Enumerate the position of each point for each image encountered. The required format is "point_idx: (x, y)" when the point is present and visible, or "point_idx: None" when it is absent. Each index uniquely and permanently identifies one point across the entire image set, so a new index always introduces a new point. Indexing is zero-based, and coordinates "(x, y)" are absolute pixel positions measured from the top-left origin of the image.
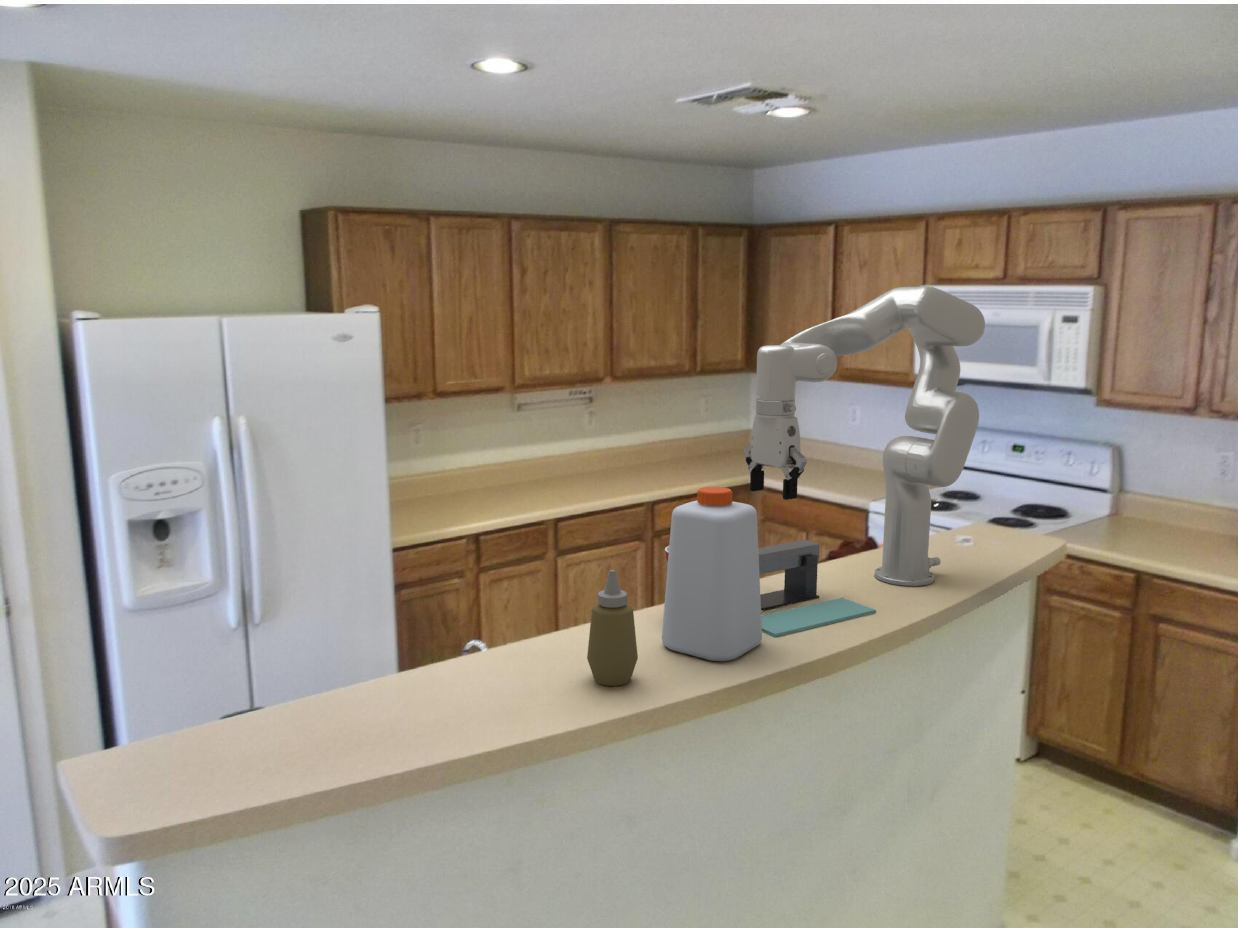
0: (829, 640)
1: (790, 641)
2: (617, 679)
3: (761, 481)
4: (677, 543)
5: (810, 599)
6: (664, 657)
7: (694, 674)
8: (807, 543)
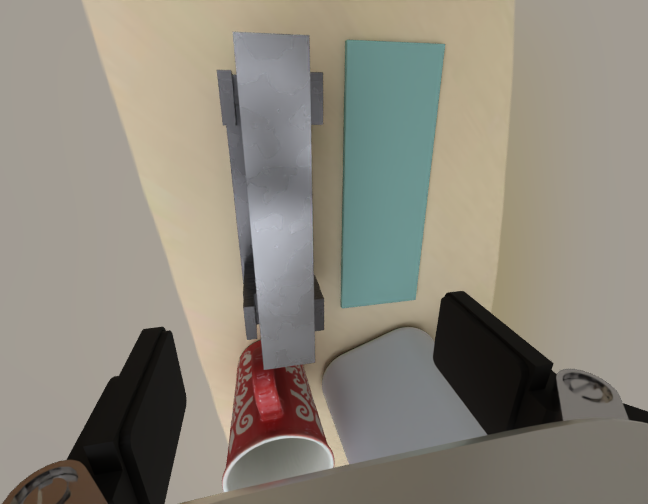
0: (469, 235)
1: (436, 286)
2: None
3: (161, 388)
4: None
5: None
6: None
7: None
8: (281, 73)
